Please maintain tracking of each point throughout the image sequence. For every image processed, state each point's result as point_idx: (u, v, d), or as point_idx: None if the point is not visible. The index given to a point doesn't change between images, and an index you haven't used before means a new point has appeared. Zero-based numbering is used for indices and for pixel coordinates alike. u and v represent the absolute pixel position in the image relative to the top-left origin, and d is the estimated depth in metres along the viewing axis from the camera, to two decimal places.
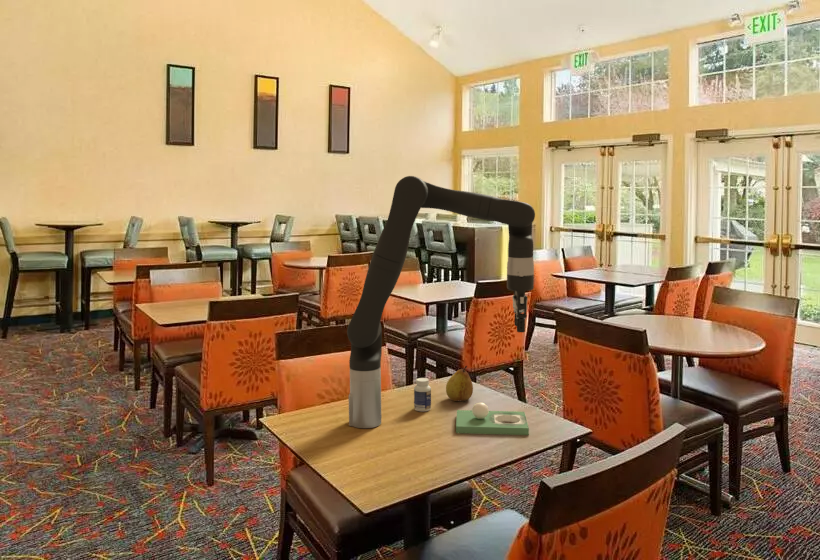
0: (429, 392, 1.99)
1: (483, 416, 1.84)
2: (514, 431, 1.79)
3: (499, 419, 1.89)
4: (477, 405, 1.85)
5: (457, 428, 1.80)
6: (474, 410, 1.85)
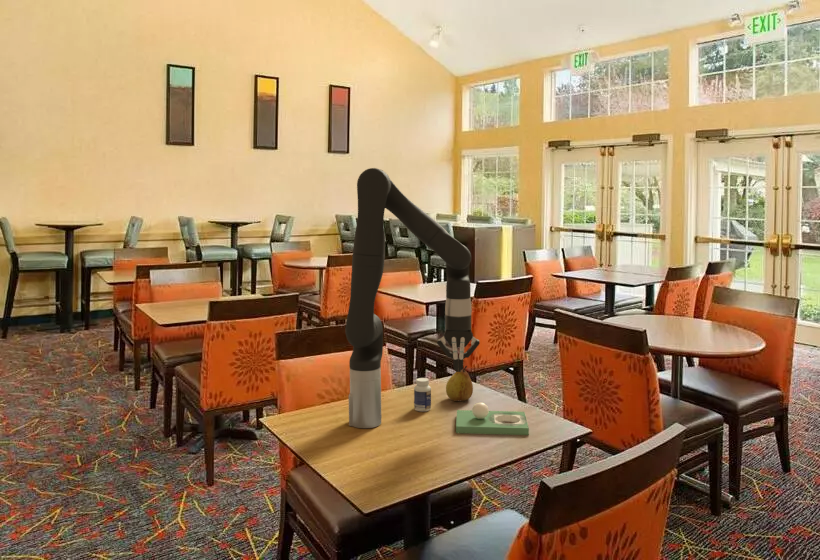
0: (429, 392, 1.99)
1: (483, 416, 1.84)
2: (514, 431, 1.79)
3: (499, 419, 1.89)
4: (477, 405, 1.85)
5: (457, 428, 1.80)
6: (474, 410, 1.85)
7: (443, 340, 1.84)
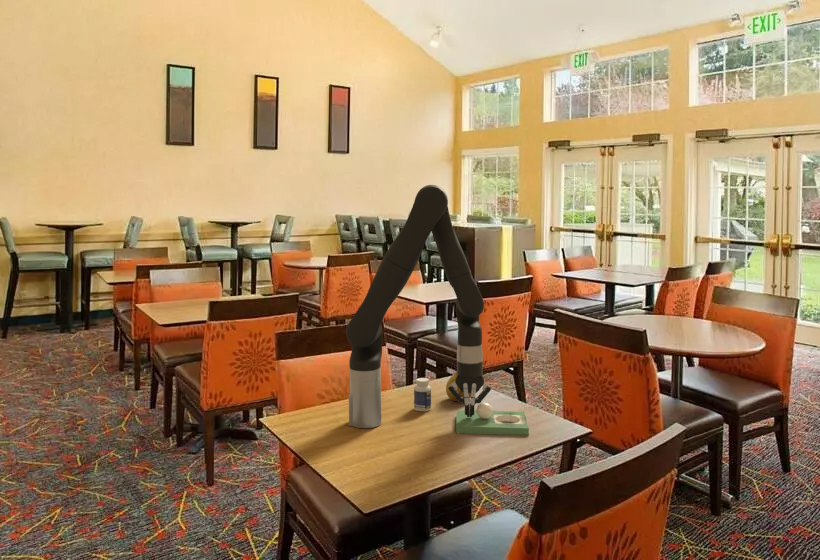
0: (429, 392, 1.99)
1: (487, 416, 1.84)
2: (514, 431, 1.79)
3: (499, 419, 1.89)
4: (481, 405, 1.85)
5: (457, 428, 1.80)
6: (478, 410, 1.85)
7: (454, 386, 1.85)
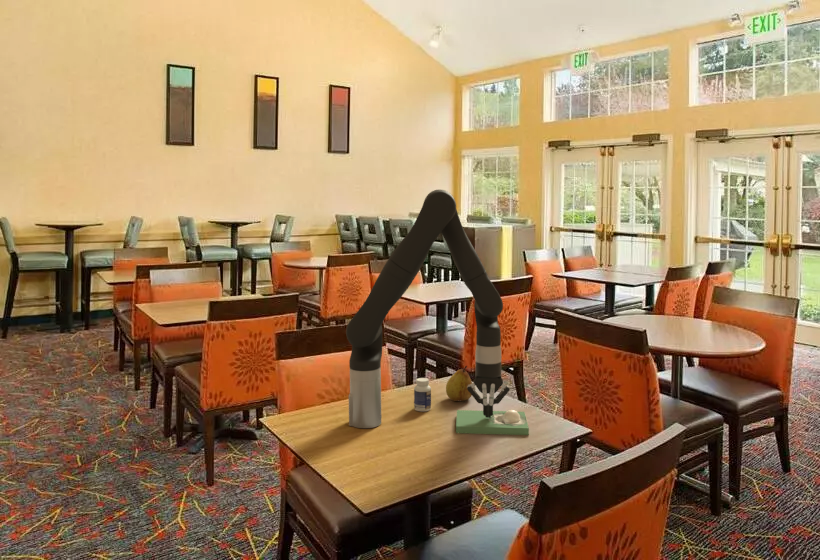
0: (429, 392, 1.99)
1: (507, 420, 1.84)
2: (514, 431, 1.79)
3: (499, 419, 1.89)
4: None
5: (457, 428, 1.80)
6: (517, 416, 1.84)
7: (473, 386, 1.85)
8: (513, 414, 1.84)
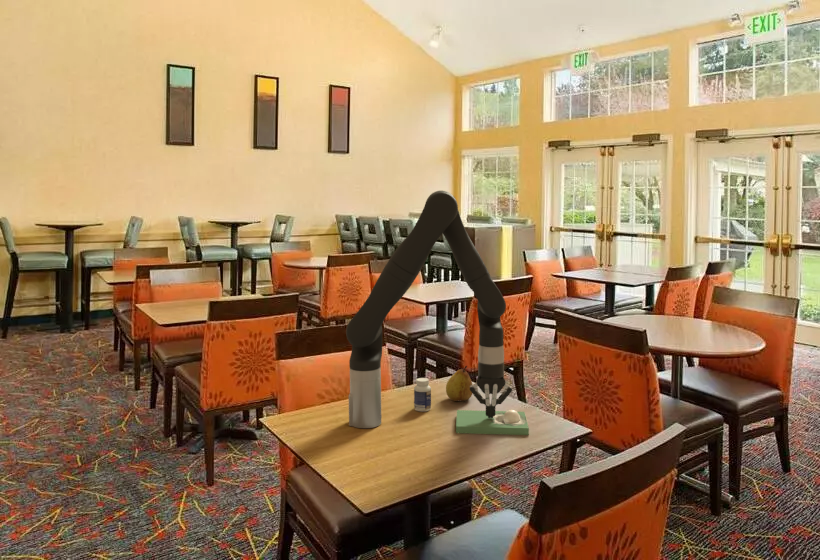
0: (429, 392, 1.99)
1: (507, 420, 1.84)
2: (514, 431, 1.79)
3: (499, 419, 1.89)
4: (519, 420, 1.84)
5: (457, 428, 1.80)
6: (517, 416, 1.84)
7: (476, 386, 1.85)
8: (513, 414, 1.84)
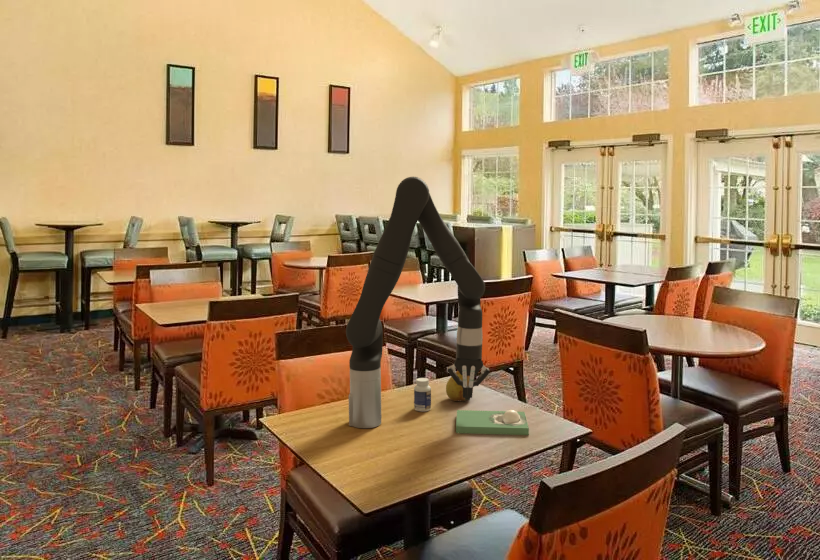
0: (429, 392, 1.99)
1: (506, 420, 1.84)
2: (514, 431, 1.79)
3: (499, 419, 1.89)
4: (518, 420, 1.84)
5: (457, 428, 1.80)
6: (516, 416, 1.84)
7: (453, 368, 1.85)
8: (512, 414, 1.84)
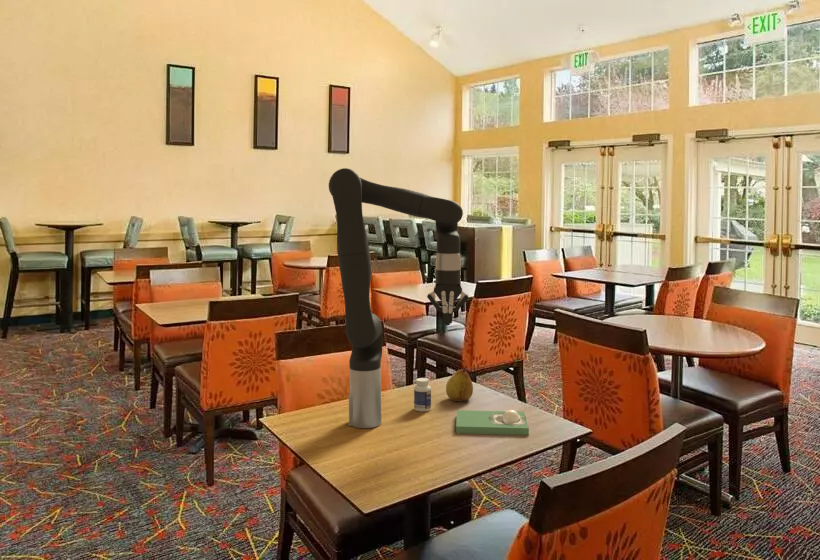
0: (429, 392, 1.99)
1: (506, 420, 1.84)
2: (514, 431, 1.79)
3: (499, 419, 1.89)
4: (518, 420, 1.84)
5: (457, 428, 1.80)
6: (516, 415, 1.84)
7: (433, 294, 1.89)
8: (512, 414, 1.84)
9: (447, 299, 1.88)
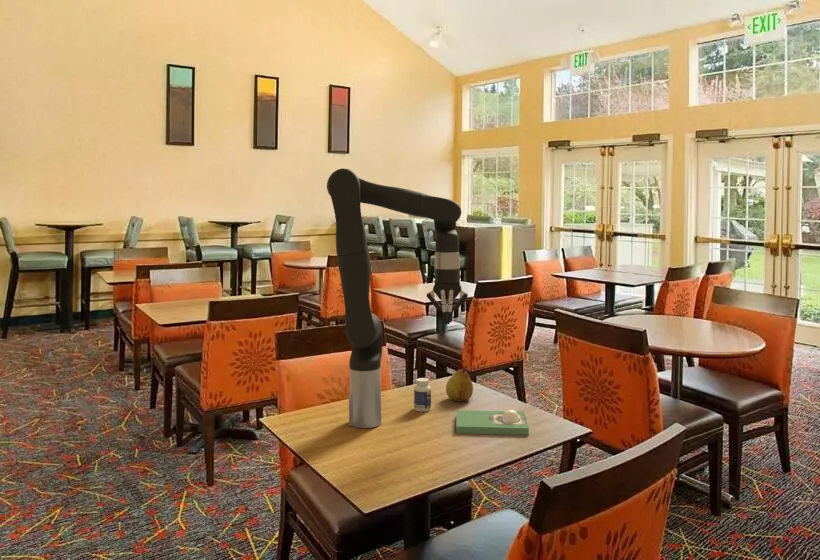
0: (429, 392, 1.99)
1: (506, 420, 1.84)
2: (514, 431, 1.79)
3: (499, 419, 1.89)
4: (518, 420, 1.84)
5: (457, 428, 1.80)
6: (515, 415, 1.84)
7: (432, 293, 1.89)
8: (511, 414, 1.84)
9: (446, 298, 1.89)
